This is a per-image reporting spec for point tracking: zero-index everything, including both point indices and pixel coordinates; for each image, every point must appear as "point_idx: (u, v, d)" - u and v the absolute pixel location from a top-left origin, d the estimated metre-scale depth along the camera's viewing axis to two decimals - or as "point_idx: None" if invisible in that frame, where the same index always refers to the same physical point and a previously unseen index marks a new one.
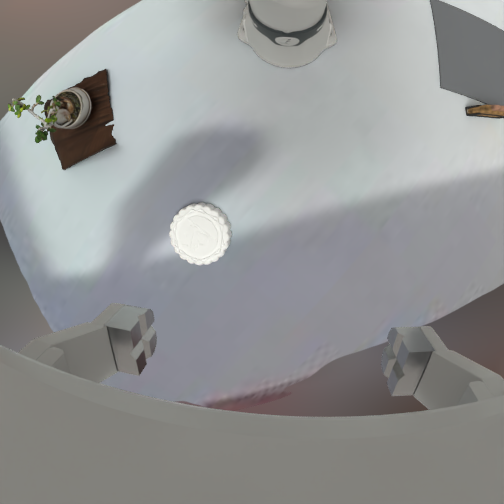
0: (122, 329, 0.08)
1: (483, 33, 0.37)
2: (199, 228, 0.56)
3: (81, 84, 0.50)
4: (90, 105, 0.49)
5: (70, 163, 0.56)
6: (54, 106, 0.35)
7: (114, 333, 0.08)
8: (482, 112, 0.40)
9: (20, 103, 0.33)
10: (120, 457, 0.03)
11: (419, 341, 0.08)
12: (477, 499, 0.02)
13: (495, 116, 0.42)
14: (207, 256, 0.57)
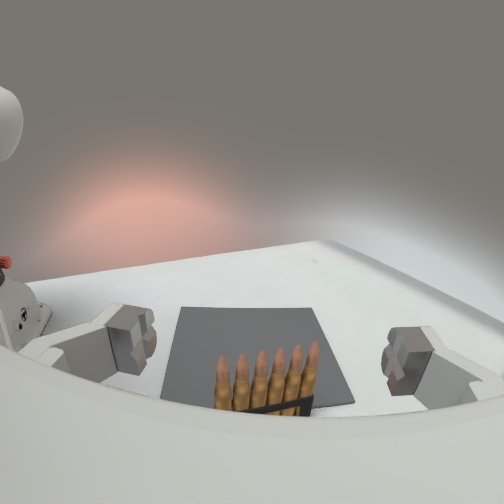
0: (122, 329, 0.08)
1: (264, 322, 0.50)
2: None
3: None
4: None
5: None
6: None
7: (114, 333, 0.08)
8: (220, 408, 0.26)
9: None
10: (120, 457, 0.03)
11: (419, 341, 0.08)
12: (477, 499, 0.02)
13: None
14: None
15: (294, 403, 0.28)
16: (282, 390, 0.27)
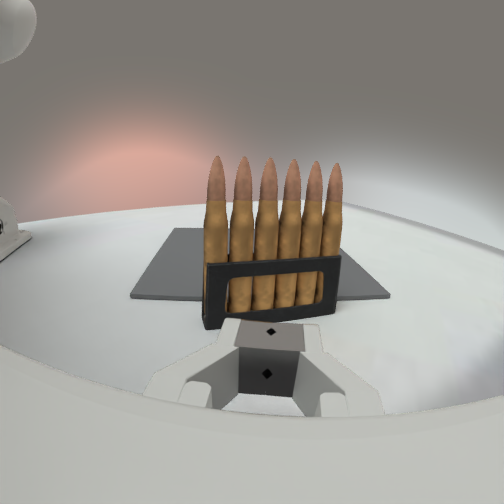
0: (259, 348, 0.08)
1: None
2: None
3: None
4: None
5: None
6: None
7: (247, 353, 0.08)
8: (211, 253, 0.20)
9: None
10: (120, 457, 0.03)
11: (291, 339, 0.08)
12: (477, 499, 0.02)
13: (306, 295, 0.23)
14: None
15: (316, 262, 0.22)
16: (298, 233, 0.21)
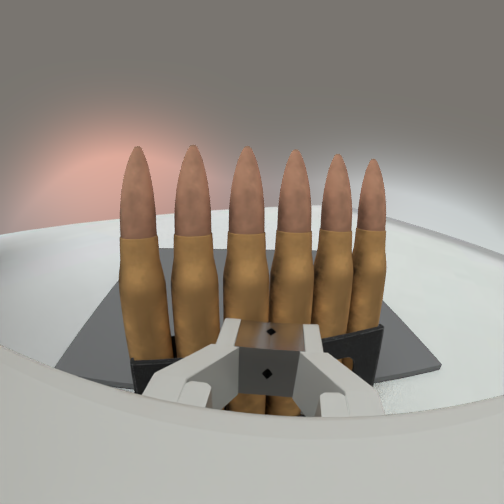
0: (259, 348, 0.08)
1: None
2: None
3: None
4: None
5: None
6: None
7: (247, 353, 0.08)
8: (135, 342, 0.09)
9: None
10: (120, 457, 0.03)
11: (290, 339, 0.08)
12: (477, 499, 0.02)
13: None
14: None
15: (342, 345, 0.11)
16: (309, 296, 0.11)
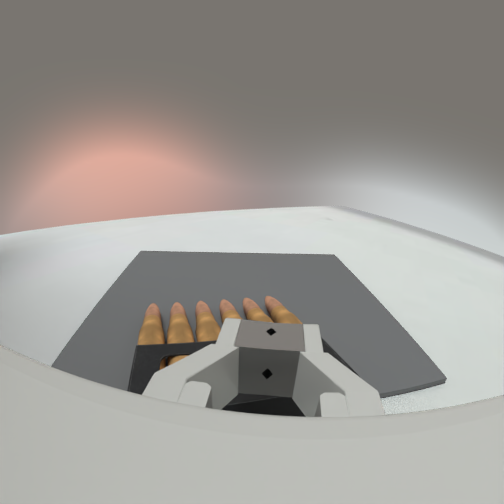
0: (259, 348, 0.08)
1: (265, 267, 0.32)
2: None
3: None
4: None
5: None
6: None
7: (247, 353, 0.08)
8: (142, 342, 0.15)
9: None
10: (120, 457, 0.03)
11: (291, 339, 0.08)
12: (477, 499, 0.02)
13: None
14: None
15: None
16: None
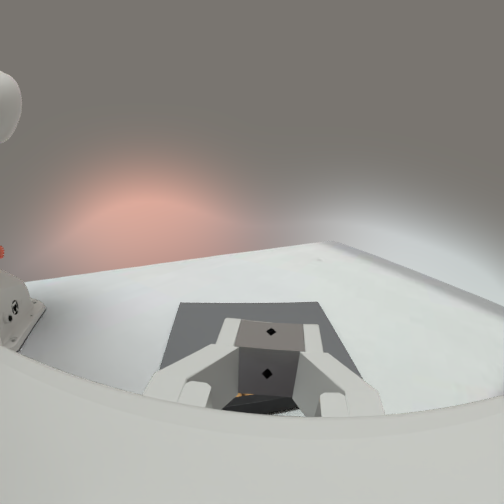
0: (259, 348, 0.08)
1: (268, 315, 0.47)
2: None
3: None
4: None
5: None
6: None
7: (247, 353, 0.08)
8: None
9: None
10: (120, 457, 0.03)
11: (291, 339, 0.08)
12: (477, 499, 0.02)
13: None
14: None
15: None
16: None
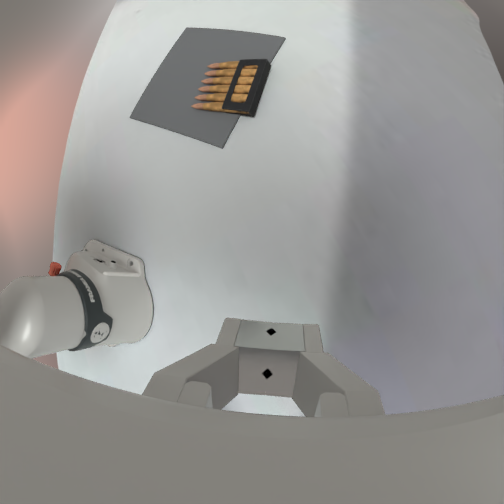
0: (259, 348, 0.08)
1: (179, 60, 0.50)
2: None
3: None
4: None
5: None
6: None
7: (247, 353, 0.08)
8: (219, 107, 0.44)
9: None
10: (120, 457, 0.03)
11: (291, 339, 0.08)
12: (477, 499, 0.02)
13: (252, 71, 0.42)
14: None
15: (238, 69, 0.43)
16: (224, 77, 0.44)
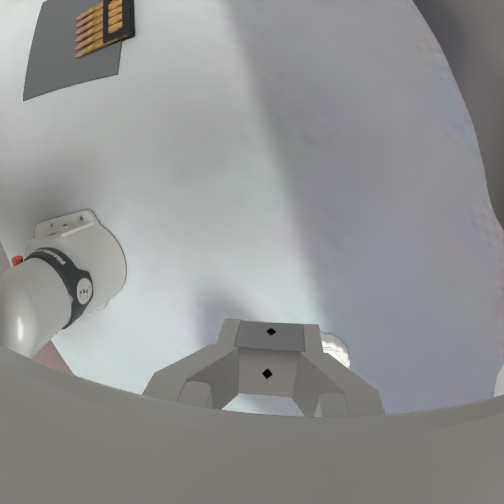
0: (259, 348, 0.08)
1: (47, 30, 0.35)
2: None
3: None
4: None
5: None
6: None
7: (247, 353, 0.08)
8: (100, 43, 0.35)
9: None
10: (120, 457, 0.03)
11: (291, 339, 0.08)
12: (477, 499, 0.02)
13: (118, 2, 0.32)
14: None
15: (104, 7, 0.32)
16: (95, 19, 0.33)
